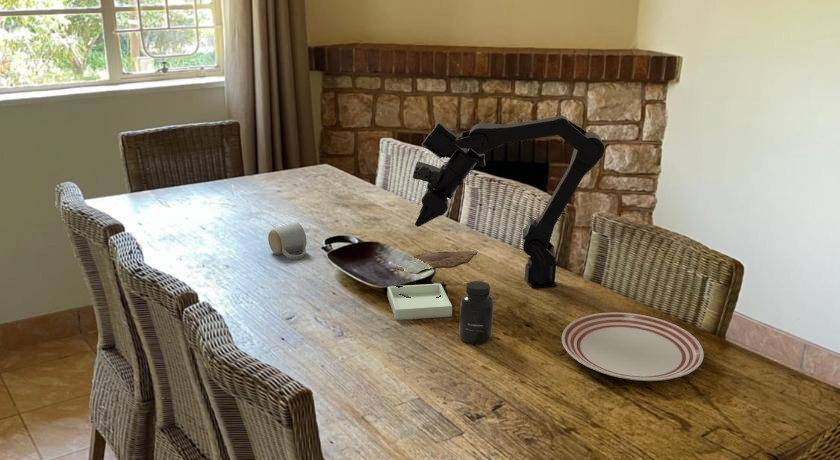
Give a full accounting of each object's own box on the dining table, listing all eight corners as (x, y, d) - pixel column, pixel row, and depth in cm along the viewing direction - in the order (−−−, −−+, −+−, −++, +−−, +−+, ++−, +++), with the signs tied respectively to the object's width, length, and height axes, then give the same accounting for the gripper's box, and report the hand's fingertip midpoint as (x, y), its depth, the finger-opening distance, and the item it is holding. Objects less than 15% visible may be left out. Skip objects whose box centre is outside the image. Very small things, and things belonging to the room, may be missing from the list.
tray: (440, 293, 182) (440, 283, 181) (451, 316, 170) (452, 306, 170) (387, 296, 180) (387, 286, 179) (395, 320, 168) (395, 309, 167)
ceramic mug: (267, 251, 207) (265, 224, 204) (293, 244, 211) (292, 218, 209) (286, 263, 199) (285, 235, 196) (313, 256, 204) (313, 229, 201)
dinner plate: (681, 407, 137) (683, 391, 136) (539, 365, 151) (540, 350, 150) (715, 347, 159) (717, 332, 158) (588, 315, 173) (590, 301, 172)
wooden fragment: (403, 277, 192) (403, 273, 191) (384, 262, 201) (384, 259, 200) (490, 261, 203) (490, 257, 203) (468, 247, 212) (468, 244, 212)
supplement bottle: (469, 348, 157) (472, 294, 153) (453, 334, 162) (454, 281, 158) (498, 341, 160) (501, 288, 156) (480, 327, 165) (483, 276, 161)
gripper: (432, 141, 190) (397, 189, 196) (424, 159, 173) (385, 212, 178) (469, 167, 192) (432, 215, 197) (464, 188, 174) (424, 239, 179)
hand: (418, 219), depth 188 cm, fingers open, 9 cm apart
